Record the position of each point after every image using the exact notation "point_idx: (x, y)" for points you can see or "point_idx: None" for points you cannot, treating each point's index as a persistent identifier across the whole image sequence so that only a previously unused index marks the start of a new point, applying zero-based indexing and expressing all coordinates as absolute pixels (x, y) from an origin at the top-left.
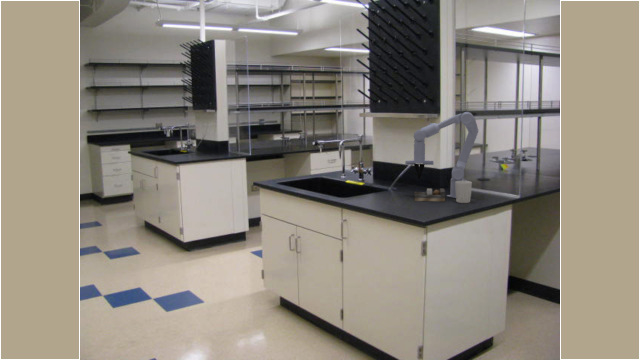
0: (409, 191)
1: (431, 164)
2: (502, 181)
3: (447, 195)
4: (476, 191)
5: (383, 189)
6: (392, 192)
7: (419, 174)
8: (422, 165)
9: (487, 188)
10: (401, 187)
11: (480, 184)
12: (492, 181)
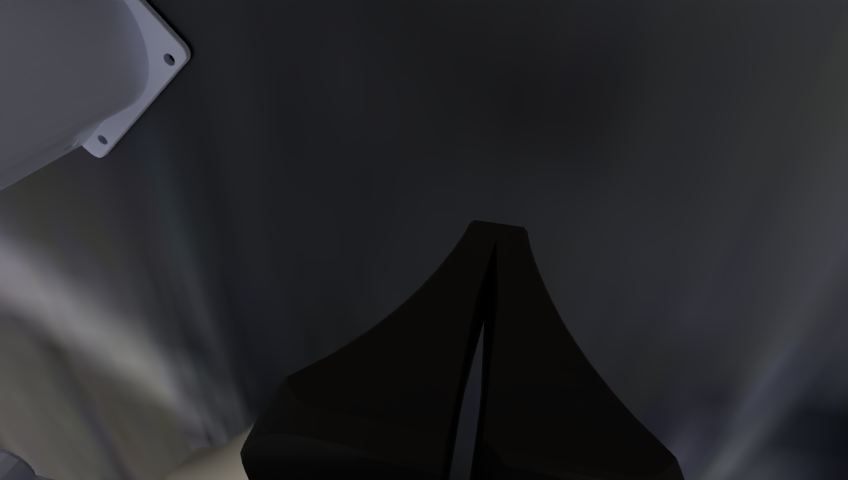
0: (574, 339)
1: (3, 469)
2: (44, 461)
3: (176, 48)
4: (42, 268)
5: (812, 448)
6: (789, 323)
7: (485, 266)
8: (317, 477)
9: (26, 342)
10: None
11: (109, 433)
12: (85, 470)
